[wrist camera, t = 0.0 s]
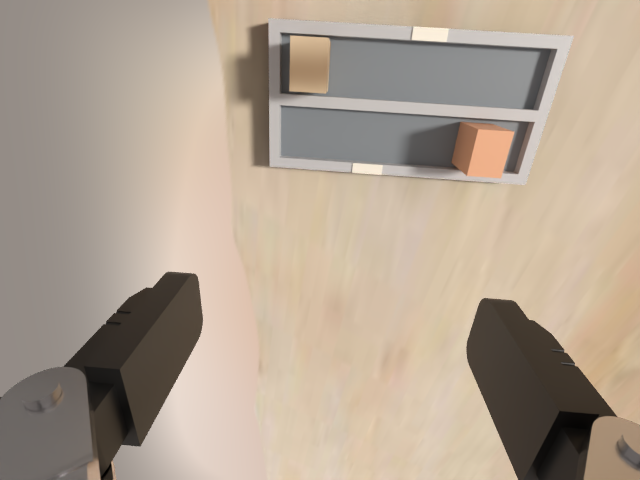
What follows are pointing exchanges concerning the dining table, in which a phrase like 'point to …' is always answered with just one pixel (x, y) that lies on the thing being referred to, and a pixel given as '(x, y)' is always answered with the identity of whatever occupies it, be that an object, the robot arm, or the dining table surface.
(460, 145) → the orange rectangular block
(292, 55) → the tan block
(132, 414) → the robot arm
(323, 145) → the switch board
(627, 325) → the dining table surface
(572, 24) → the dining table surface
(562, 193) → the dining table surface
